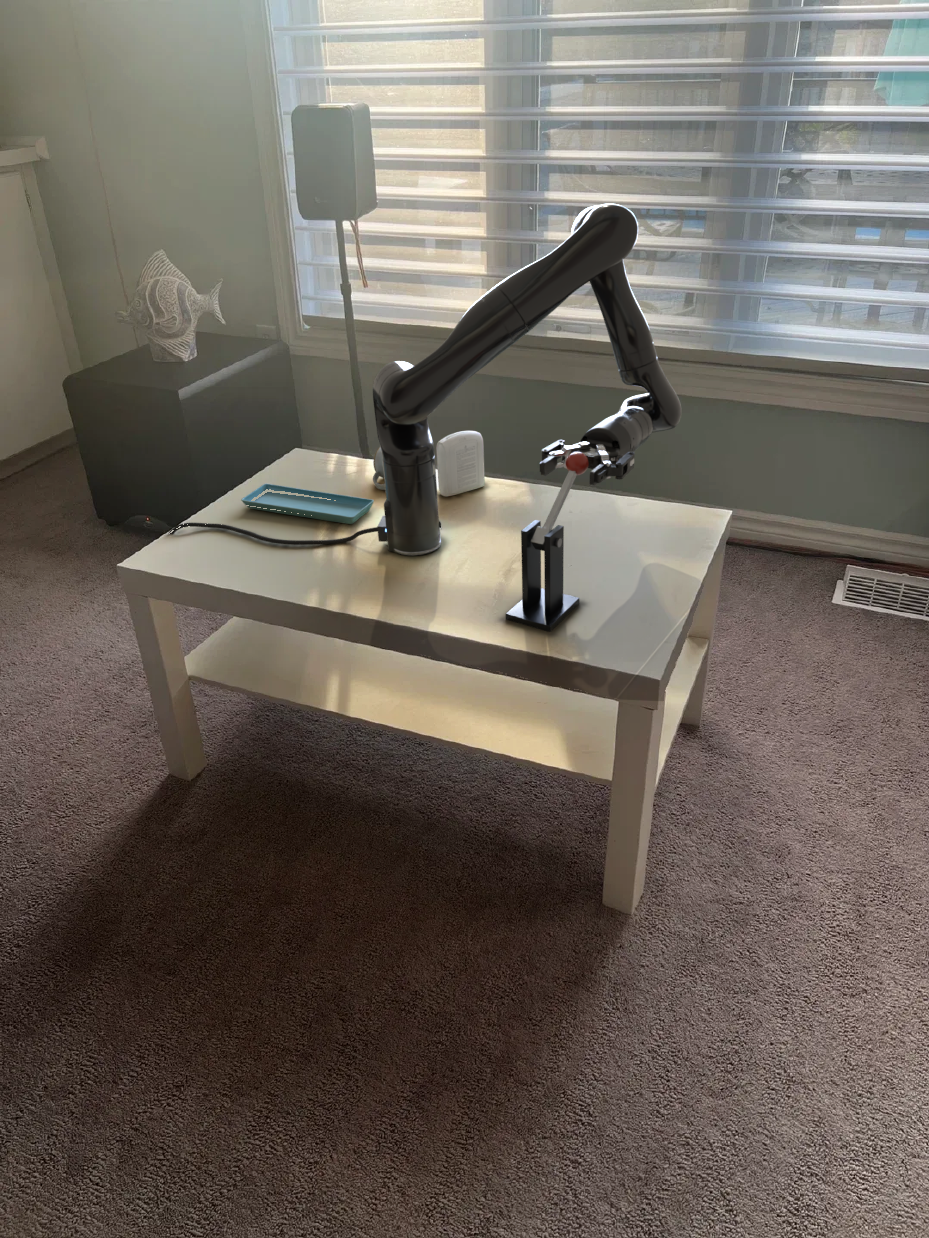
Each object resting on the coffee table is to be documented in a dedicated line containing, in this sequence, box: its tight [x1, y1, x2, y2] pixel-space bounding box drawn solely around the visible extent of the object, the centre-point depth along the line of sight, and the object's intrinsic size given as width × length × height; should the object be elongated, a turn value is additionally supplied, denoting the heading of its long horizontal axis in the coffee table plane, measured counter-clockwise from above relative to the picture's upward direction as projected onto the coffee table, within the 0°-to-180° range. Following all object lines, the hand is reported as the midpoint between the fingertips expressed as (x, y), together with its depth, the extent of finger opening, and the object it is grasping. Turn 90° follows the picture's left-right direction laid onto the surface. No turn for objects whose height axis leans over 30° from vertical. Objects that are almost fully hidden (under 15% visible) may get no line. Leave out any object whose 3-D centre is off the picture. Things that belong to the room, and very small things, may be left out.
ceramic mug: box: [372, 446, 386, 491], centre depth 195 cm, size 11×8×8 cm
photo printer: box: [435, 430, 486, 497], centre depth 188 cm, size 10×4×12 cm, turn 123°
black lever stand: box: [505, 519, 580, 633], centre depth 143 cm, size 10×8×15 cm
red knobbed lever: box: [531, 452, 589, 552], centre depth 142 cm, size 17×4×4 cm
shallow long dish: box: [240, 483, 375, 525], centre depth 185 cm, size 26×9×2 cm, turn 67°
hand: (566, 474), depth 142 cm, fingers open, 8 cm apart
